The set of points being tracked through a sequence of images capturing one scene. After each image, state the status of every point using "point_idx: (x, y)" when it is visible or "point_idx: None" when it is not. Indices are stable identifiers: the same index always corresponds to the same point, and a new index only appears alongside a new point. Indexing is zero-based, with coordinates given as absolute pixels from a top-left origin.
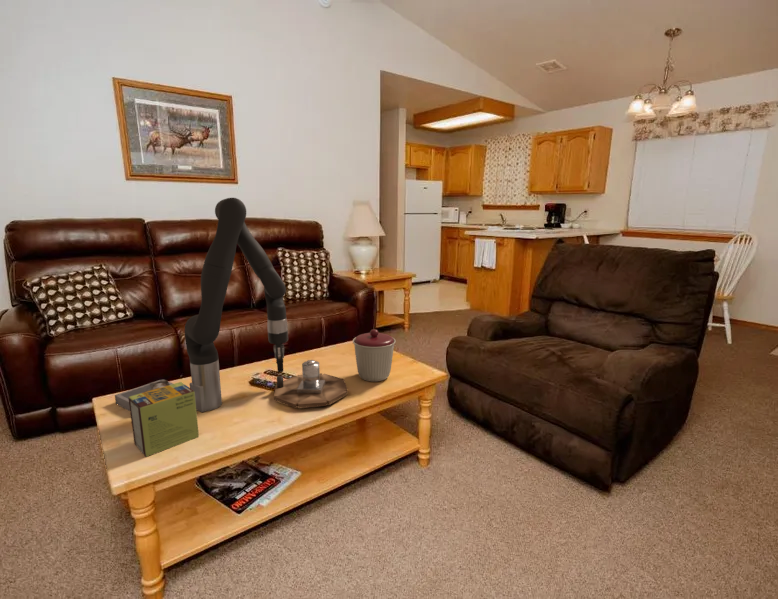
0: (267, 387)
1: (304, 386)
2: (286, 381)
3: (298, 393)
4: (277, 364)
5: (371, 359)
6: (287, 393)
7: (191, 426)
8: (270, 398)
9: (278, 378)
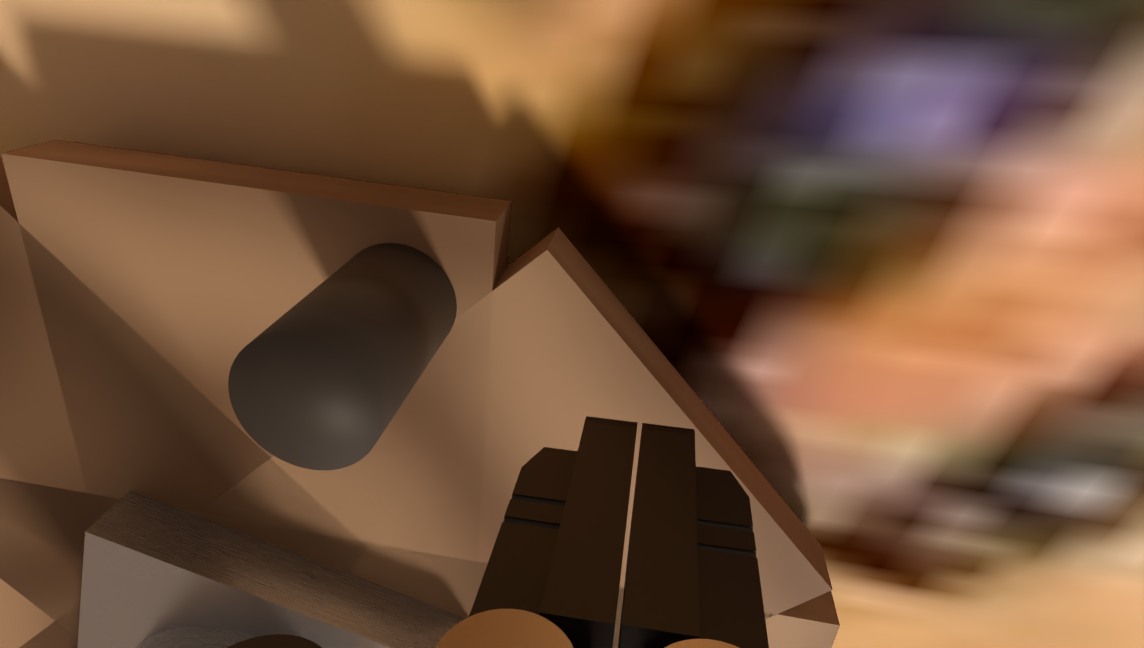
0: (749, 43)
1: (155, 639)
2: None
3: (112, 503)
4: (546, 593)
5: None
6: (112, 369)
7: None
8: (245, 73)
9: (235, 362)
